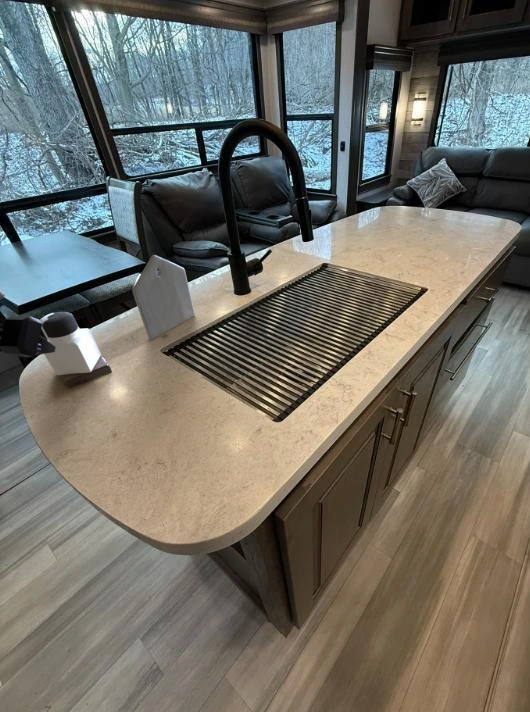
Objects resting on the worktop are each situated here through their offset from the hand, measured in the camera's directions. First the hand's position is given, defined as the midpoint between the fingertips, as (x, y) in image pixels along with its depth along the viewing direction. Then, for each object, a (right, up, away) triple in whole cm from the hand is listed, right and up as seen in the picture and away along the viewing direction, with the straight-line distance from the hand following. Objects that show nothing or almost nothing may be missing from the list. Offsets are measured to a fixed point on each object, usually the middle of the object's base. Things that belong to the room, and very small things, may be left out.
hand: (33, 348), depth 62 cm
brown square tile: (+1, -4, +13) cm, 14 cm away
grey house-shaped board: (+12, +10, +30) cm, 34 cm away
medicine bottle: (+1, -3, +12) cm, 12 cm away
